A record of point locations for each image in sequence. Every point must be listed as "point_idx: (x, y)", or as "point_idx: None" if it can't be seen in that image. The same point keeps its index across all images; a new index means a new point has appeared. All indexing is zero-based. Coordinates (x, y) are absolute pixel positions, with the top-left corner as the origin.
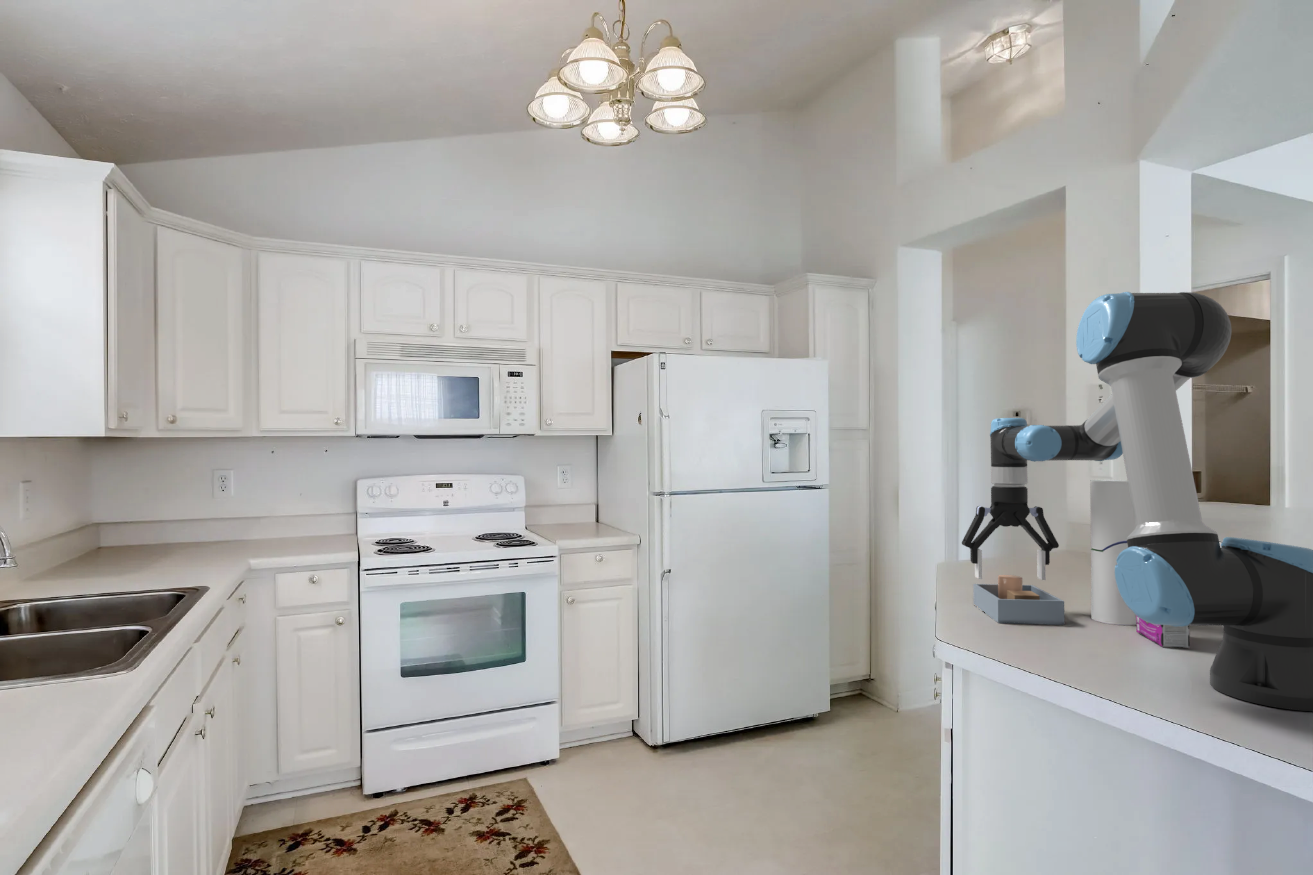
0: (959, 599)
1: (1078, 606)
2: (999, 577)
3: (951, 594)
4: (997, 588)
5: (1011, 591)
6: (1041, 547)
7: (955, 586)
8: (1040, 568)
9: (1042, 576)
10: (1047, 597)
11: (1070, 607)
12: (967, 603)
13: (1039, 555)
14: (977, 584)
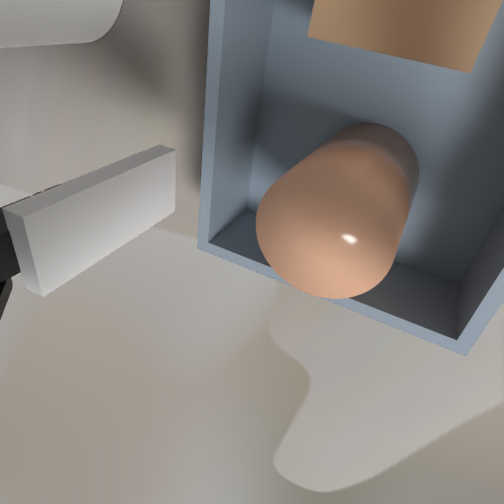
0: (447, 376)
1: None
2: (395, 252)
3: (417, 431)
4: None
5: (466, 27)
6: (2, 280)
7: (326, 477)
8: (132, 191)
9: (160, 153)
10: (233, 27)
11: None
12: None
13: (68, 240)
14: (452, 338)
